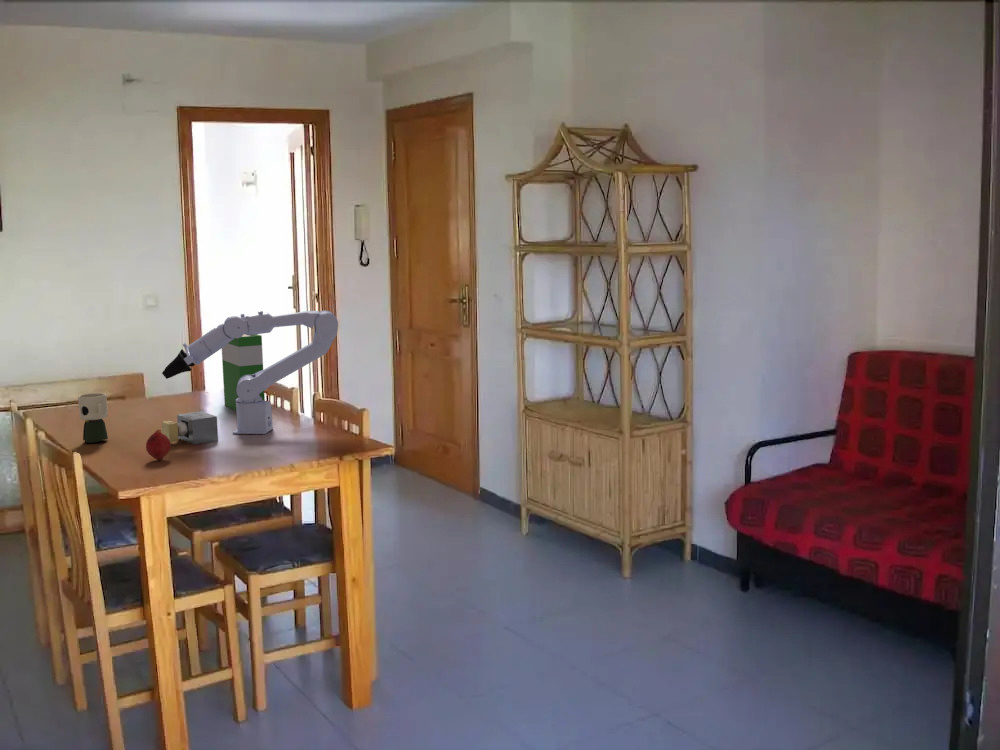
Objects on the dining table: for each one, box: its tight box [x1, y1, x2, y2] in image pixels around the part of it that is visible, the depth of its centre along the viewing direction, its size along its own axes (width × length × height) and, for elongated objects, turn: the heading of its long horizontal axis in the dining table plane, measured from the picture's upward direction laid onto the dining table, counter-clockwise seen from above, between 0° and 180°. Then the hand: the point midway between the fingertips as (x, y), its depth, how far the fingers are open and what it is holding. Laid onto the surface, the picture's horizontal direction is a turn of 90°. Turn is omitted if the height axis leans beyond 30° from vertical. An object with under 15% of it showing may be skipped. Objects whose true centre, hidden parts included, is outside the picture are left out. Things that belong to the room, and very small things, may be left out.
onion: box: [145, 428, 172, 461], centre depth 245 cm, size 6×6×8 cm
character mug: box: [77, 392, 109, 444], centre depth 266 cm, size 11×7×13 cm, turn 43°
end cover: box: [161, 420, 189, 443], centre depth 264 cm, size 8×5×5 cm, turn 131°
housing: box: [176, 410, 219, 445], centre depth 267 cm, size 7×10×7 cm
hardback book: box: [221, 334, 266, 412], centre depth 311 cm, size 18×7×24 cm, turn 33°
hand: (165, 373), depth 270 cm, fingers open, 7 cm apart
